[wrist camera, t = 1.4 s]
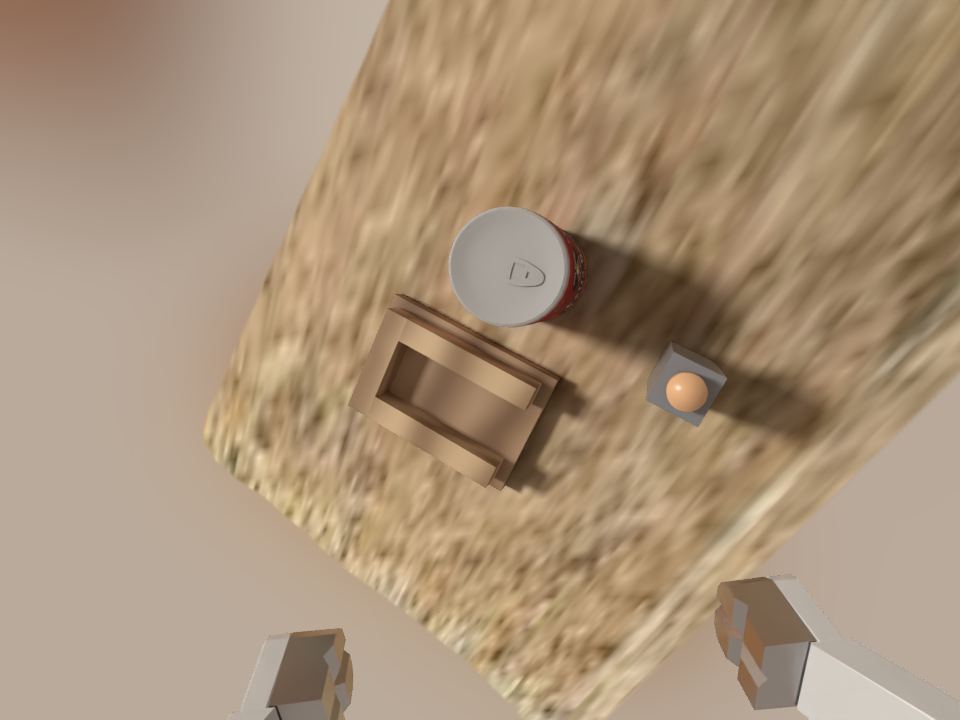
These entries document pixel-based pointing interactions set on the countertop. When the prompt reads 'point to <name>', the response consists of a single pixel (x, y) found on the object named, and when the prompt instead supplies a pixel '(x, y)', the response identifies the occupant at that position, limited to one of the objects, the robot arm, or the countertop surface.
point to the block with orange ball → (684, 383)
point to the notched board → (452, 392)
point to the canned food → (516, 268)
